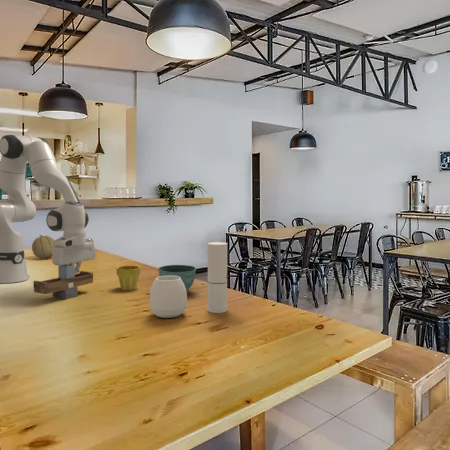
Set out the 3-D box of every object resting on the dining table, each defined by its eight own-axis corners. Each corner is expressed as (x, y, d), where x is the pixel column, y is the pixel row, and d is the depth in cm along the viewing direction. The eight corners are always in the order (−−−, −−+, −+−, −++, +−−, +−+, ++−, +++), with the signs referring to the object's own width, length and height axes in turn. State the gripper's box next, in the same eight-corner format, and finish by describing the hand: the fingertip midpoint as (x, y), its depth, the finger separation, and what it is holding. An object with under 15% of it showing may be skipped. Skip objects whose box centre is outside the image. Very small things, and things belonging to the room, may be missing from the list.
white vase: (156, 322, 141) (156, 283, 140) (144, 312, 153) (144, 276, 152) (192, 317, 147) (192, 279, 146) (179, 308, 159) (178, 272, 158)
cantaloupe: (51, 260, 259) (50, 236, 258) (27, 260, 259) (26, 236, 258) (61, 257, 274) (60, 234, 273) (38, 256, 274) (37, 233, 273)
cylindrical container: (229, 308, 158) (230, 242, 156) (223, 313, 152) (223, 245, 150) (211, 306, 161) (212, 241, 159) (204, 311, 154) (205, 244, 152)
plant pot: (134, 292, 183) (134, 269, 182) (112, 290, 185) (112, 268, 184) (144, 286, 193) (143, 265, 192) (123, 285, 195) (122, 264, 194)
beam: (33, 301, 166) (32, 280, 165) (80, 289, 186) (80, 270, 186) (46, 304, 162) (46, 283, 161) (94, 291, 183) (93, 272, 182)
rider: (58, 281, 174) (58, 265, 173) (66, 279, 177) (66, 264, 177) (67, 282, 171) (66, 266, 171) (74, 280, 175) (74, 265, 174)
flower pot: (203, 292, 182) (203, 268, 181) (175, 299, 171) (175, 273, 170) (179, 286, 193) (179, 263, 192) (150, 292, 182) (150, 268, 181)
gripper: (88, 237, 188) (88, 268, 189) (49, 242, 170) (50, 276, 171) (98, 238, 185) (99, 269, 186) (60, 243, 167) (60, 277, 168)
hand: (75, 272), depth 178 cm, fingers closed
